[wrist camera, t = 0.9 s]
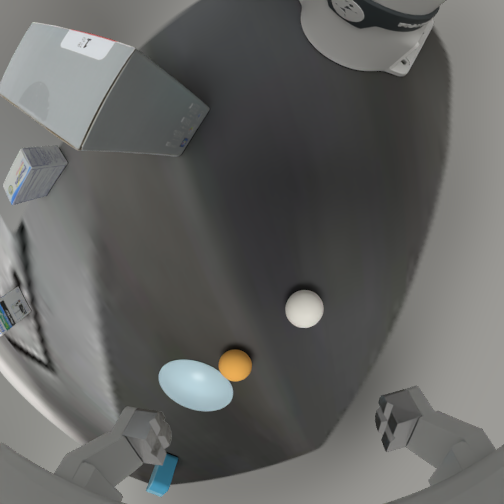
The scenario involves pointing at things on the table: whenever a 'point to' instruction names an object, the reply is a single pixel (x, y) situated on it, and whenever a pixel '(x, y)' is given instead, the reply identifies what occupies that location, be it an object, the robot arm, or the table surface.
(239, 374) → the orange ball
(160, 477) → the data package
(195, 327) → the table surface
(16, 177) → the medicine box
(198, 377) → the blue mark
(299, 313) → the white ball
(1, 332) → the light bulb box
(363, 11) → the robot arm
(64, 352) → the table surface
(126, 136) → the hard drive box
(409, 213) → the table surface
